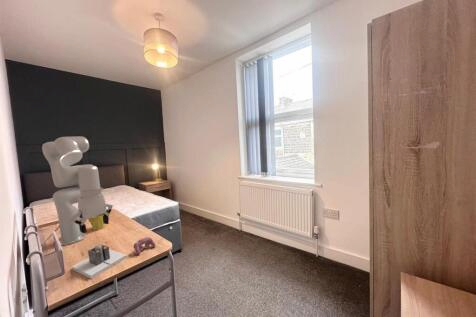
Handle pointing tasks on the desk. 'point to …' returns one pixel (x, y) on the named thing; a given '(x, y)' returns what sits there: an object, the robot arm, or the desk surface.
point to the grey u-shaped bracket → (98, 255)
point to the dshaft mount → (93, 270)
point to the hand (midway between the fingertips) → (95, 227)
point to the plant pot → (97, 222)
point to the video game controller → (146, 241)
